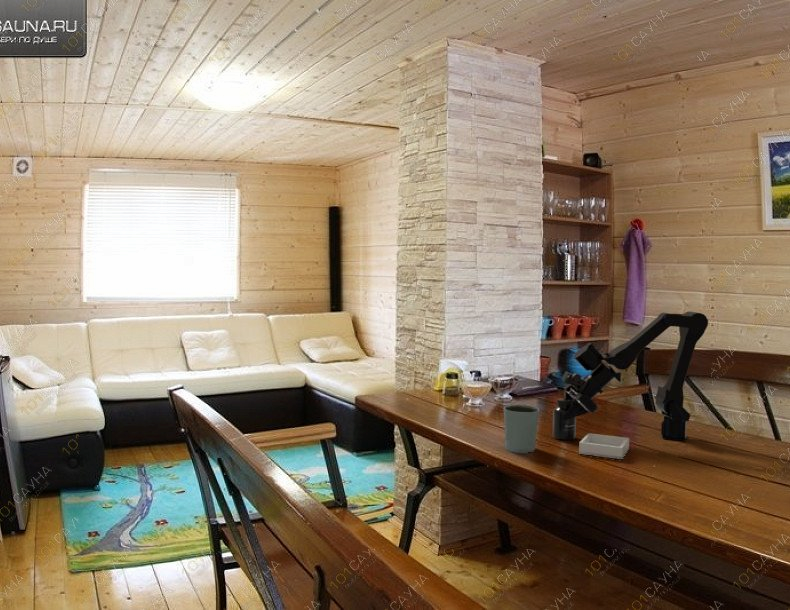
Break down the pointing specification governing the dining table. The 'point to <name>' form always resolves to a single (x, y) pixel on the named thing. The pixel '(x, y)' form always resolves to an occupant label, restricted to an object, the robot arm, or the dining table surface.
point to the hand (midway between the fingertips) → (559, 416)
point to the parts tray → (604, 446)
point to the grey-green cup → (520, 428)
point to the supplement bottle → (561, 427)
